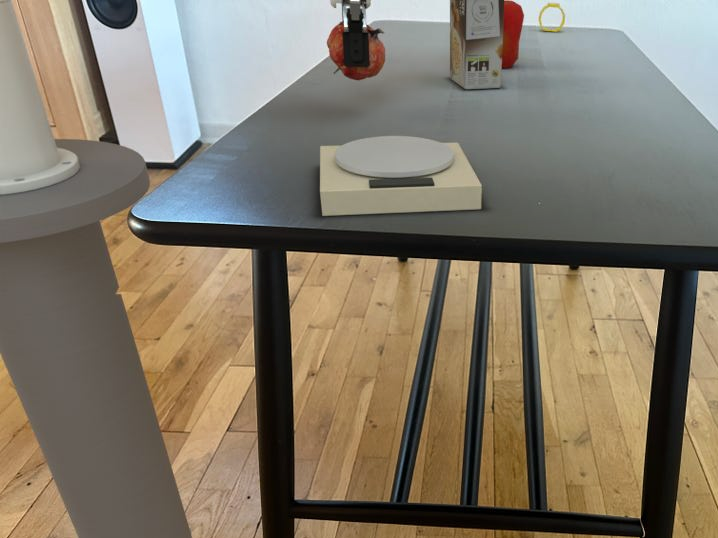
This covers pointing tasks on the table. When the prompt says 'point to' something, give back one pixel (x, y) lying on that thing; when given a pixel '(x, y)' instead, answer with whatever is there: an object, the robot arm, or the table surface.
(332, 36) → the pomegranate
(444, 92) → the table surface
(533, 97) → the table surface
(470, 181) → the scale
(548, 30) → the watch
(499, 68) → the coffee box
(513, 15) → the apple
